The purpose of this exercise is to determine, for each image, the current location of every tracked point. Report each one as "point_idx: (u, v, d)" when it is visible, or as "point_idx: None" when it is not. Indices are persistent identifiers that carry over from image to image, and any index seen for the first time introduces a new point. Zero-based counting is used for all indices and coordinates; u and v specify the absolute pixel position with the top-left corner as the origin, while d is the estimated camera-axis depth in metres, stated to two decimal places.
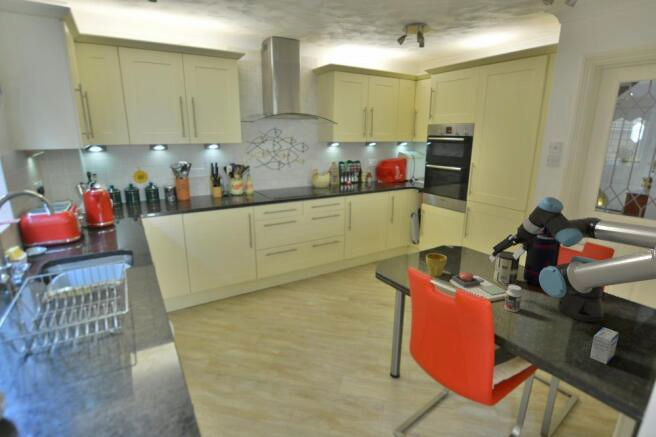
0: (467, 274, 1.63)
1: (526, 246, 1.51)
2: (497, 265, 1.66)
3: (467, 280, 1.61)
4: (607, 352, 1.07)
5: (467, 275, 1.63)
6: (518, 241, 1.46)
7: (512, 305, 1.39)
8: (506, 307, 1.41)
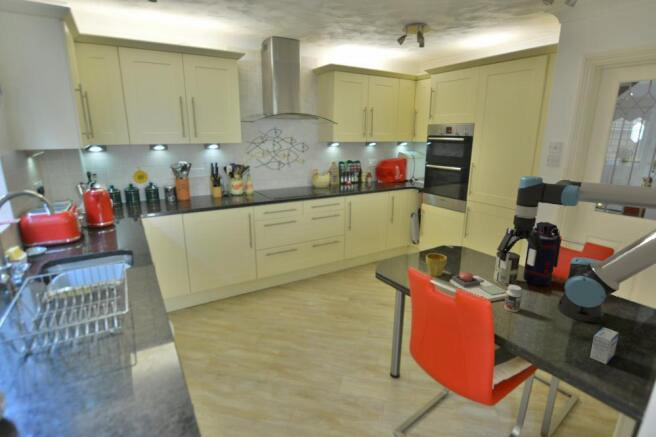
0: (467, 274, 1.63)
1: (534, 243, 1.36)
2: (497, 265, 1.66)
3: (467, 280, 1.61)
4: (607, 352, 1.07)
5: (467, 275, 1.63)
6: (520, 234, 1.33)
7: (512, 305, 1.39)
8: (506, 307, 1.41)
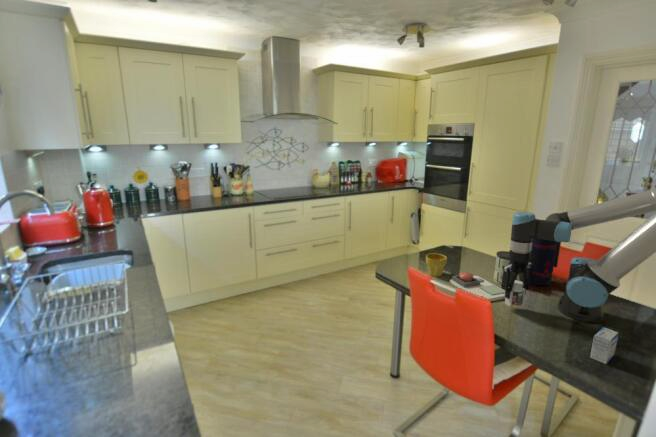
0: (467, 274, 1.63)
1: (525, 280, 1.39)
2: (497, 265, 1.66)
3: (467, 280, 1.61)
4: (607, 352, 1.07)
5: (467, 275, 1.63)
6: (516, 269, 1.36)
7: (514, 300, 1.38)
8: None
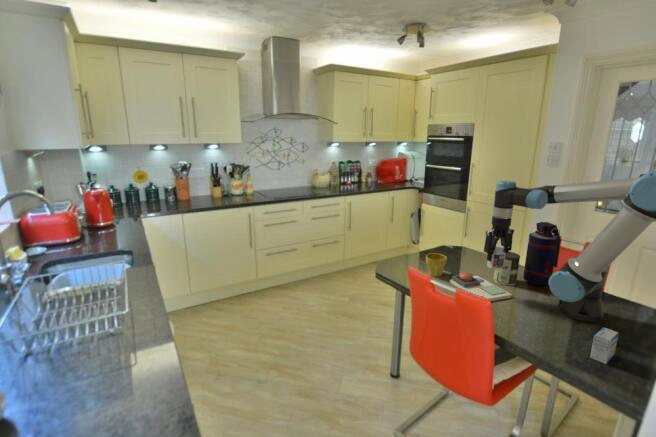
0: (467, 274, 1.63)
1: (506, 244, 1.50)
2: None
3: (467, 280, 1.61)
4: (607, 352, 1.07)
5: (467, 275, 1.63)
6: (498, 234, 1.47)
7: (496, 263, 1.50)
8: None
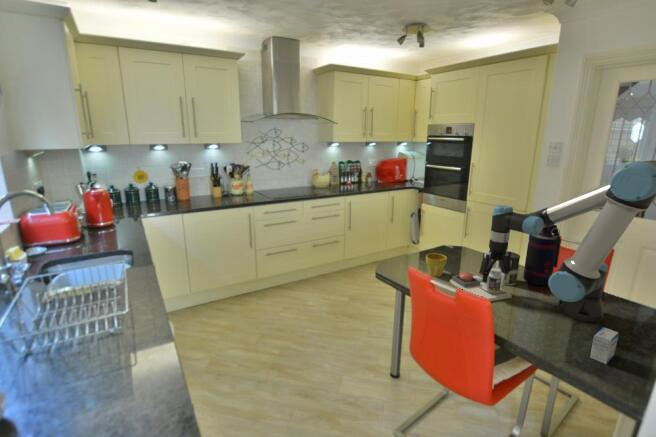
0: (467, 274, 1.63)
1: (504, 266, 1.53)
2: (497, 265, 1.66)
3: (467, 280, 1.61)
4: (607, 352, 1.07)
5: (467, 275, 1.63)
6: (495, 257, 1.50)
7: (493, 286, 1.52)
8: (488, 288, 1.55)
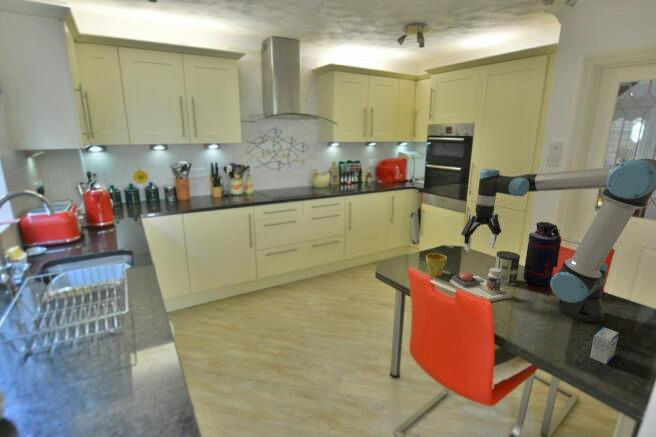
0: (467, 274, 1.63)
1: (493, 228, 1.55)
2: (497, 265, 1.66)
3: (467, 280, 1.61)
4: (607, 352, 1.07)
5: (467, 275, 1.63)
6: (480, 220, 1.51)
7: (493, 286, 1.52)
8: (488, 288, 1.55)
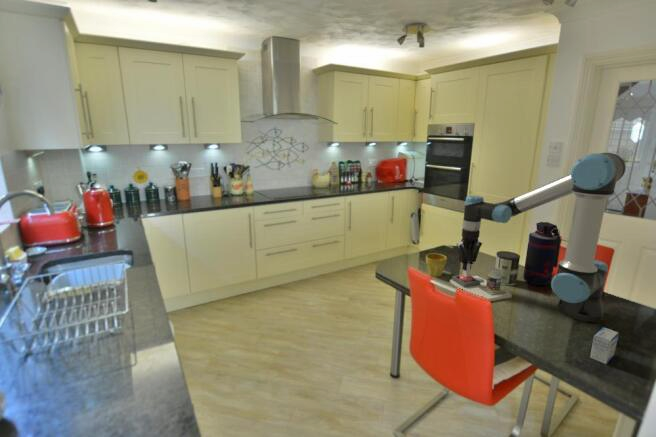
0: None
1: (472, 255, 1.60)
2: (497, 265, 1.66)
3: None
4: (607, 352, 1.07)
5: None
6: (468, 245, 1.58)
7: (493, 286, 1.52)
8: (488, 288, 1.55)
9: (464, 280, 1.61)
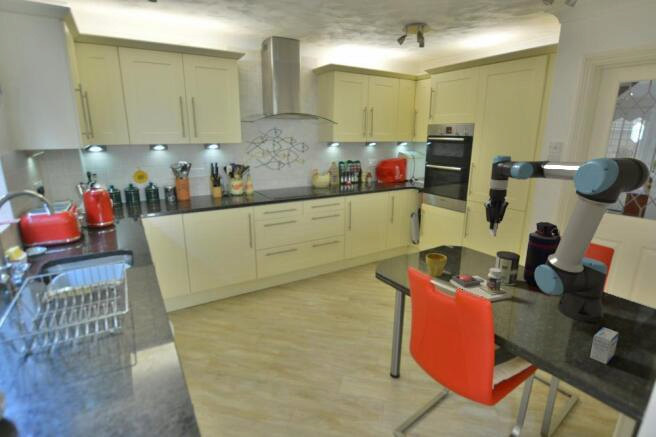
0: (467, 276, 1.64)
1: (499, 215, 1.64)
2: (497, 265, 1.66)
3: None
4: (607, 352, 1.07)
5: (467, 277, 1.63)
6: (495, 204, 1.62)
7: (493, 286, 1.52)
8: (488, 288, 1.55)
9: (464, 281, 1.61)
